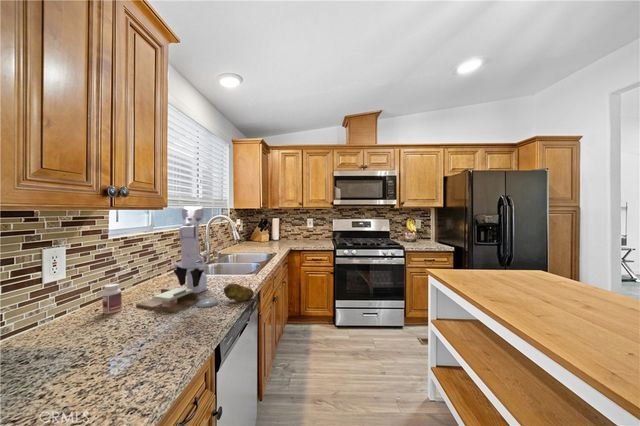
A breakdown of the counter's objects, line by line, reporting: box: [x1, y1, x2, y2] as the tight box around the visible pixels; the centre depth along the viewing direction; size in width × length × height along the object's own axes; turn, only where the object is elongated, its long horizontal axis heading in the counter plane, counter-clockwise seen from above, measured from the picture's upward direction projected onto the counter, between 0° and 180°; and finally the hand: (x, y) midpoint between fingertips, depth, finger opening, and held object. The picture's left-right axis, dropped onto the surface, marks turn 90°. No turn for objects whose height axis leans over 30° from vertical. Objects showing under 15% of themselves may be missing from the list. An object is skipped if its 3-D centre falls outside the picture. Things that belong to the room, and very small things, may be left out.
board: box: [135, 288, 200, 314], centre depth 117 cm, size 14×21×4 cm, turn 71°
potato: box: [223, 282, 255, 302], centre depth 121 cm, size 8×13×8 cm, turn 93°
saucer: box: [195, 298, 219, 309], centre depth 117 cm, size 9×9×1 cm
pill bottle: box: [102, 283, 123, 315], centre depth 109 cm, size 6×6×11 cm
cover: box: [152, 287, 193, 301], centre depth 115 cm, size 12×9×2 cm
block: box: [162, 298, 177, 307], centre depth 113 cm, size 4×4×4 cm
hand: (189, 285), depth 111 cm, fingers open, 7 cm apart
